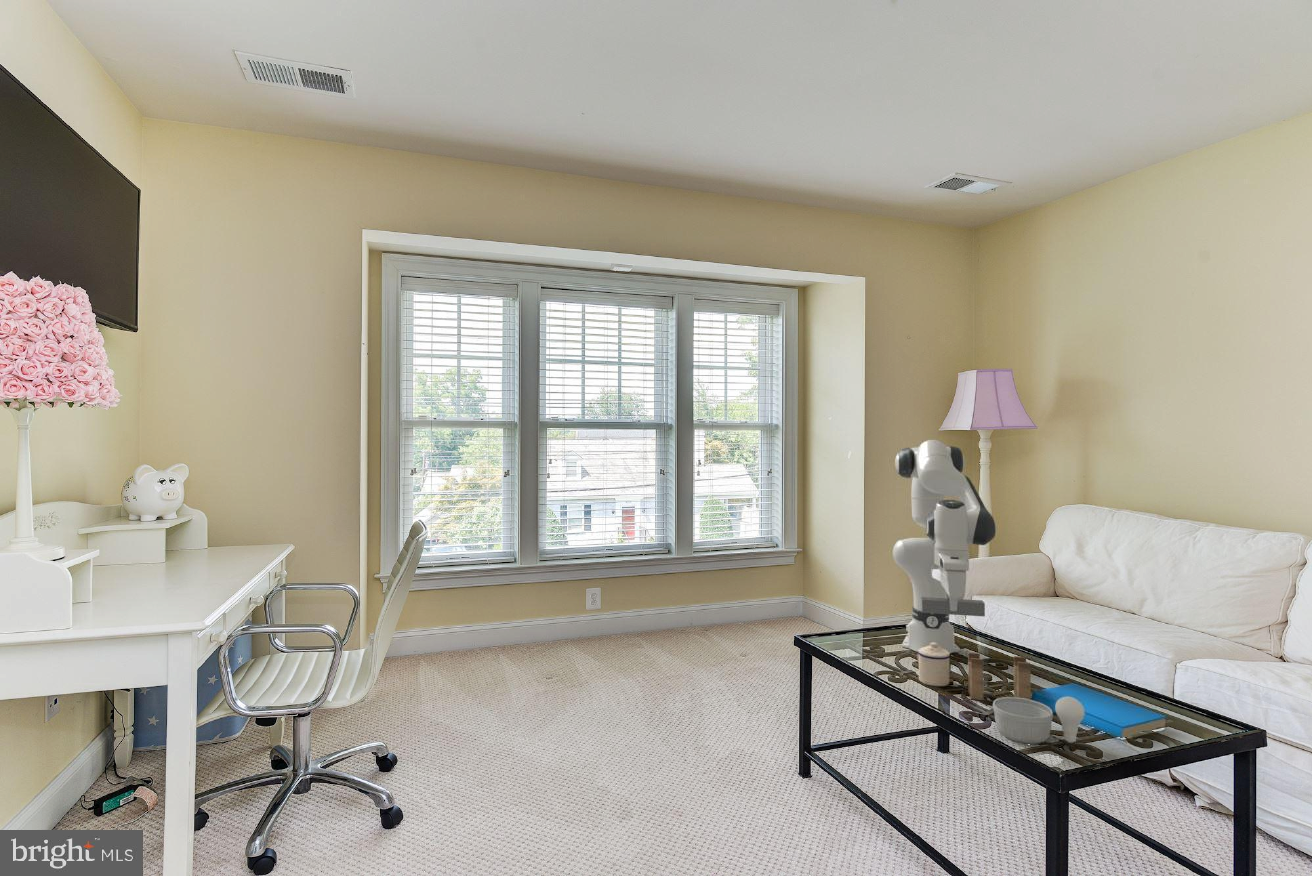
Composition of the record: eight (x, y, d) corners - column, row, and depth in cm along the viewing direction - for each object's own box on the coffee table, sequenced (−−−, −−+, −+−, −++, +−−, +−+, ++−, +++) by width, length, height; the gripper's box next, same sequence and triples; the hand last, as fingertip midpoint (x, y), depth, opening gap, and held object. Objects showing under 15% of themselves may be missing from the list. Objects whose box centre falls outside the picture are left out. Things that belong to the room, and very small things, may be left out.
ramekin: (1012, 747, 161) (1012, 718, 161) (982, 724, 174) (982, 697, 174) (1065, 745, 162) (1065, 716, 162) (1030, 722, 175) (1030, 695, 175)
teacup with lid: (956, 685, 201) (956, 646, 201) (930, 688, 199) (930, 649, 199) (931, 671, 213) (931, 635, 213) (906, 674, 211) (905, 637, 211)
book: (1072, 682, 194) (1166, 714, 170) (1073, 697, 194) (1167, 731, 170) (1030, 691, 187) (1122, 725, 164) (1030, 707, 187) (1122, 743, 164)
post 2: (1013, 695, 193) (1013, 656, 193) (1025, 696, 192) (1025, 657, 192) (1018, 703, 187) (1018, 662, 187) (1030, 704, 186) (1030, 663, 186)
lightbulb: (1050, 740, 164) (1050, 696, 164) (1063, 735, 168) (1063, 690, 168) (1076, 750, 159) (1076, 704, 159) (1089, 744, 162) (1089, 699, 162)
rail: (920, 609, 192) (920, 597, 192) (982, 613, 187) (982, 600, 187) (922, 612, 188) (922, 599, 188) (984, 616, 184) (984, 603, 184)
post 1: (968, 691, 197) (968, 652, 197) (979, 692, 196) (979, 653, 196) (971, 699, 191) (971, 658, 191) (983, 700, 190) (983, 659, 190)
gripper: (935, 552, 199) (935, 599, 199) (944, 564, 179) (944, 616, 179) (958, 553, 197) (958, 600, 197) (969, 565, 177) (970, 618, 177)
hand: (951, 608), depth 188 cm, fingers closed on rail, 4 cm apart
